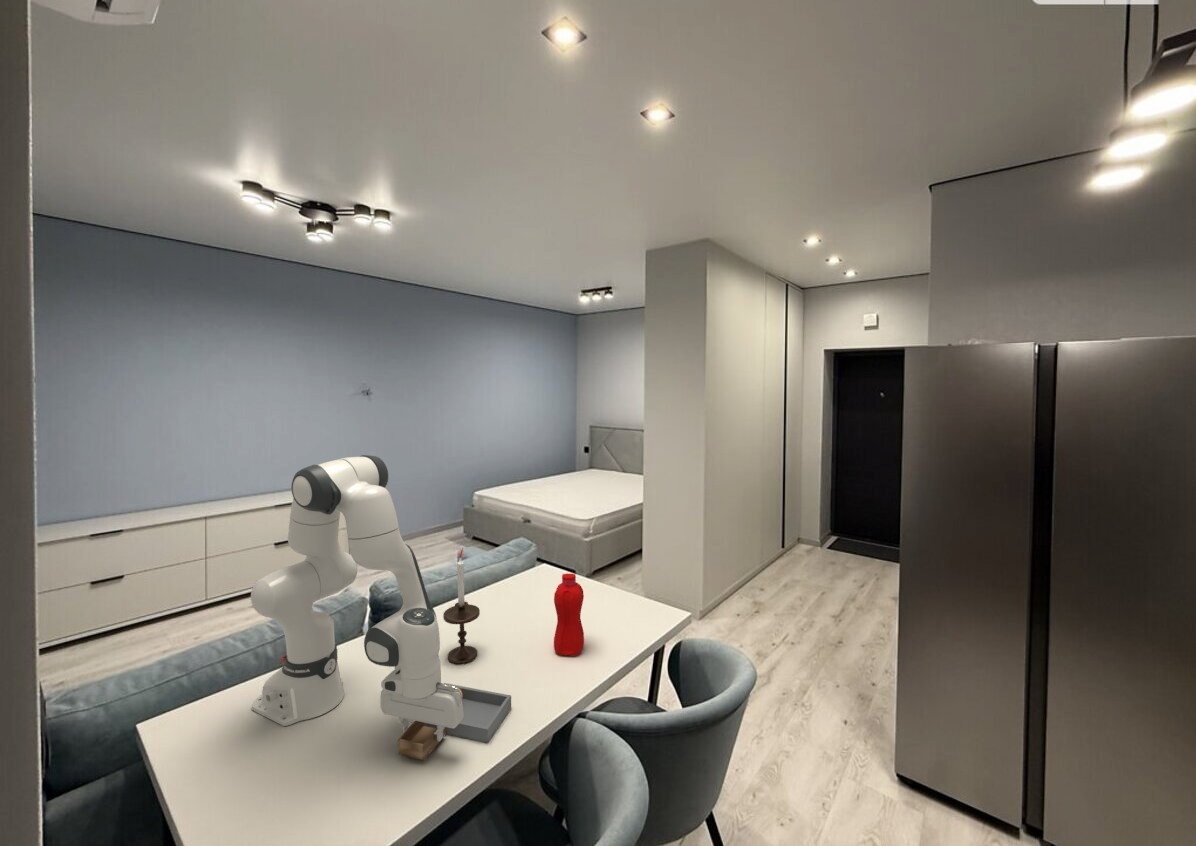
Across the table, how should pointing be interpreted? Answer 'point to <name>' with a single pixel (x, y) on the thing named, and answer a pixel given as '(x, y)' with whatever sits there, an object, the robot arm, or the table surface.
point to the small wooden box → (418, 741)
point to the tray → (480, 714)
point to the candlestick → (461, 621)
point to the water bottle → (568, 617)
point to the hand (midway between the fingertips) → (423, 735)
